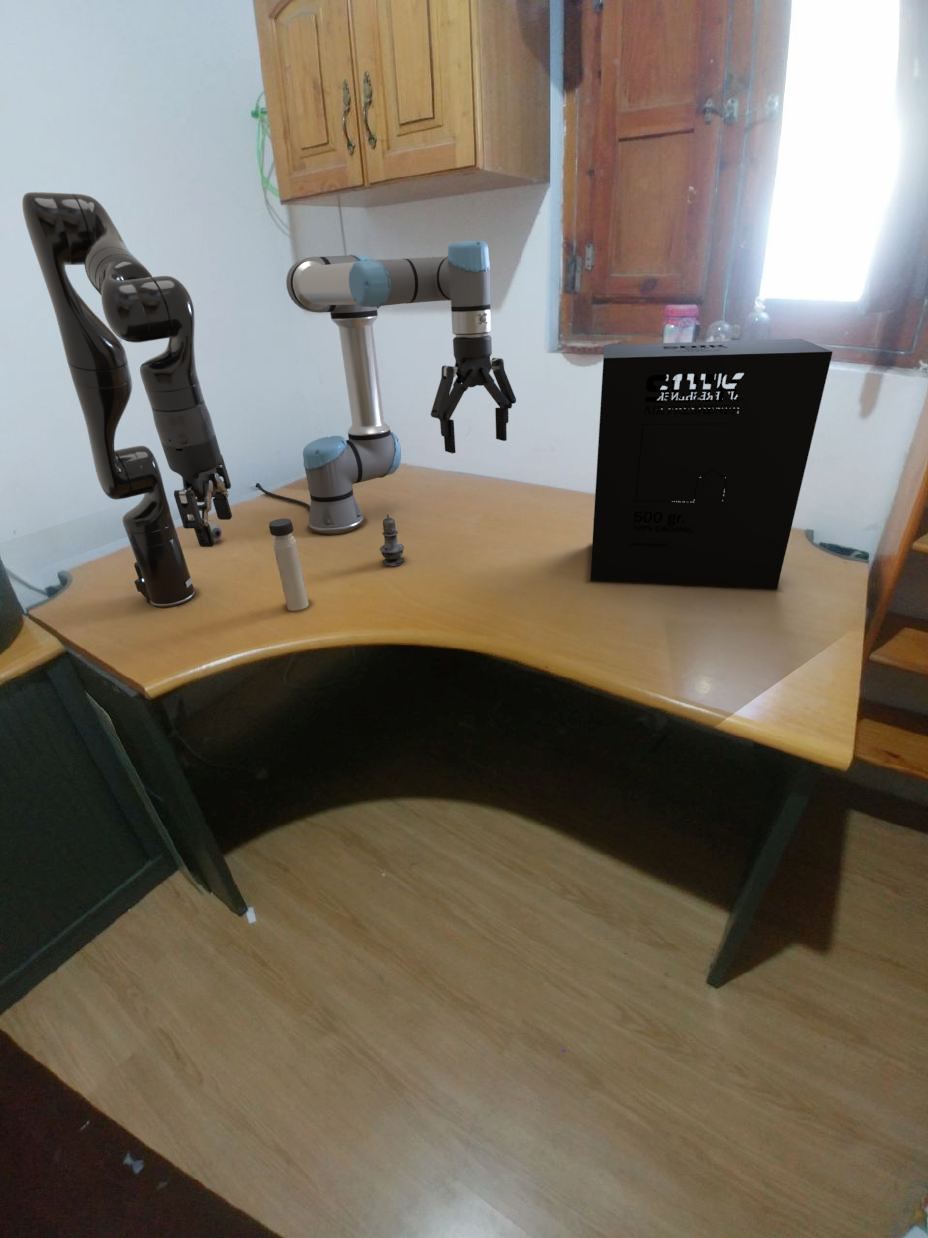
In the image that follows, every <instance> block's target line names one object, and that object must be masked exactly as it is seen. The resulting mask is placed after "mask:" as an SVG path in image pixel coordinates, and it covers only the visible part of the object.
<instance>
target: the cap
mask: <svg viewBox="0 0 928 1238" xmlns="http://www.w3.org/2000/svg"><path fill="white" fill-rule="evenodd" d="M292 521H293V520H292V519H291V518H286V517H285V518H283V517H282V518H277V519H274V520H271V521H269V522H268V528H269V532H270V533H269V534H270V535H272V536H273V537H275V536H284V535H288V534H290V533H291V534H292V533H293V532H294V525H293V522H292Z"/></svg>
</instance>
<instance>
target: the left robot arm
mask: <svg viewBox="0 0 928 1238" xmlns="http://www.w3.org/2000/svg"><path fill="white" fill-rule="evenodd" d="M21 205H22V214H23V219H24V222H25V226H26V229H27V232H28V235H29V238H30V241H31V245H32V248H33V250H34V253H35V256H36V260H37V262H38V266H39V268H40V271H41V274H42V277H43V280H44V283H45V285H46V289H47V292H48V295H49V298H50V301H51V304H52V307H53V310H54V311H53V312H54V314H55V318H56V322H57V326H58V329H59V334H60V338H61V342H62V346H63V351H64V354H65V358H66V362H67V365H68V370H69V373H70V376H71V380H72V382H73V386H74V389H75V392H76V395H77V399H78V402H79V405H80V407H81V411H82V415H83V418H84V421H85V425H86V428H87V429H86V430H87V435H88V439H89V440H88V441H89V445H90V449H91V454H92V459H93V465H94V468H95V473H96V476H97V481H98V482H99V485H100V487H101V489H102V491H103V492H104V494H105V495H106V496H107V497H108V498H110V499H112V500H115V501H116V500H123V499H129V498H133V497H135V496H136V497H137V496H140V495H143V497H142V499H141V500H140V501H139V502H138V503H137V504H136V505H135V506H134V507H133V508H130V509H129V511H127V512H125V514H123V516H122V524H123V527H124V530H125V532H126V535H127V538H128V541H129V544H130V547H131V549H132V553H133V555H134V557H135V562H134V563H133V566H134V569H135V573H136V576H137V579H135V580H134V585H135V588H136V590H137V592H139V593H140V594H141V595H142V596H143V597H144V598H145V601H146V603H148V604H151V606H153V607H157V608H170V607H174V606H175V607H176V606H178V605H182V604H184V603H186V602H189V601H190V600H192V599H193V598H194V597H195V596H196V589H195V587H194V584H193V583H194V582H193V579H192V576H191V574H190V572H189V568H188V565H187V561H186V558H185V554H184V552H183V547H182V545H181V542H180V539H179V536H178V532H177V529H176V526H175V523H174V520H173V517H172V513H171V508H170V504H169V500H168V498H167V494H166V489H165V486H164V482H163V477H162V473H161V470H160V466H159V464H158V461H157V458H156V456H155V454H154V453H153V452H152V450H151V449H150V448H149V447H147V446H146V445H142V444H141V445H134V446H129V447H123V448H119V449H115V441H116V439H115V438H116V432H117V428H118V426H119V423H120V421H121V420H122V416H123V415H124V413H125V410H126V408H127V406H128V403H129V401H130V399H131V395H132V391H133V379H132V375H131V370H130V366H129V361H128V360H129V359H128V357H127V352H126V349H125V347H124V346H123V343H122V342H121V341H120V340H119V338H120V339H121V340H122V341H126V342H128V343H133V344H140V343H146V342H152V341H158V340H163V339H164V340H165V339H168V342H167V345H166V348H165V350H164V351H162V352H161V353H159V354H157V355H155V356H153V357H151V358H149V359H147V360H145V361H143V362H142V364H141V365H140V367H139V373H140V378H141V381H142V384H143V387H144V390H145V393H146V396H147V399H148V402H149V405H150V408H151V412H152V417H153V422H154V426H155V429H156V433H157V434H158V438H159V440H160V444H161V447H162V449H163V453H164V456H165V459H166V463H167V465H168V468H169V469H170V470H171V471H172V472H173V473H175V474H178V475H179V476H181V479H182V486H183V487H182V489H175V490H173V497H174V500H175V503H176V507H177V509H178V513H179V517H180V520H181V523H182V526H183V528H184V529H186V530H187V529H188V530H189V529H192V530H194V533H195V536H196V540H197V542H198V545H199V546H200V547H202V548H212V547H213V546H214V545H215V543H216V542H215V541H214V538H213V535H212V532H211V528H210V525H209V524H208V520H209V513H210V511H212V503H213V506H214V510H215V513H216V515H217V519H218V520H220V521H229V520H231V519H232V517H233V514H232V513H233V512H232V509H231V506H230V503H229V500H228V498H229V490H230V489H231V487H232V484H231V480H230V477H229V473H228V470H227V466H226V464H225V463H226V462H225V460H224V456H223V455H222V453H221V450H220V446H219V442H218V439H217V435H216V432H215V428H214V424H213V420H212V417H211V414H210V411H209V409H208V406H207V404H206V402H205V398H204V394H203V391H202V387H201V383H200V380H199V376H198V372H197V367H196V366H197V365H196V353H195V325H196V324H195V323H196V321H195V320H196V319H195V309H194V304H193V300H192V297H191V295H190V293H189V291H188V289H187V287H185V286H184V284H183V283H182V282H181V281H180V280H178V279H177V278H175V277H174V276H171V275H158V276H157V275H156V276H153V275H152V274H151V272H150V270H148V268H147V267H146V266H144V264H143V263H141V261H140V260H139V259H138V258H137V257H136V256H134V254H132V253H131V252H130V250H129V248H128V247H127V245H126V242H125V240H124V239H123V238H122V236H121V234H120V232H119V229H118V228H117V227H116V225H115V223H114V221H113V219H112V218H111V216H110V215H109V213H108V211H107V209H106V208H105V207H104V206H103V205H102V204H101V202H99V201H98V200H97V199H96V198H94V197H93V196H90V195H87V194H81V193H70V192H69V193H68V192H41V191H31V192H26V193H24V194H23V197H22V200H21ZM67 266H84V271H85V273H86V277H87V279H88V280H89V282H90V284H91V286H92V287H93V288H94V289H95V291H97V293H98V294H99V295H100V297H101V298H100V299H101V306H102V311H103V315H104V318H105V320H106V322H107V324H108V326H107V325H106V323H104V321H103V320H101V319H100V317H99V316H98V315H96V313H95V312H94V311H93V310H92V309H91V308H90V306H88V304H87V303H86V302H85V300H84V299H83V298H82V297H81V296H80V294H79V293H78V292H77V290H76V288H75V287H74V286H73V284H72V282H71V280H70V278H69V276H68V273H67V270H66V267H67ZM198 503H203V504H198Z"/></svg>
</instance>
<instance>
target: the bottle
mask: <svg viewBox="0 0 928 1238" xmlns="http://www.w3.org/2000/svg"><path fill="white" fill-rule="evenodd" d="M272 542H273V543H272V546H273V552H274V555H275V560H276V564H277V569H278V572H279V577H280V582H281V587H282V590H283V595H284V600H285V604H286V608H287V610H288V611H291V612H298V611H302V610H304V609H306V608H308V607H309V606H310V603H309V597H308V592H307V588H306V583H305V578H304V572H303V568H302V562H301V558H300V554H299V548H298V544H297V541H296V538H295V537H294V536H293V534H292V533H290V534H288V535H284V536H273V541H272Z"/></svg>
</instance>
